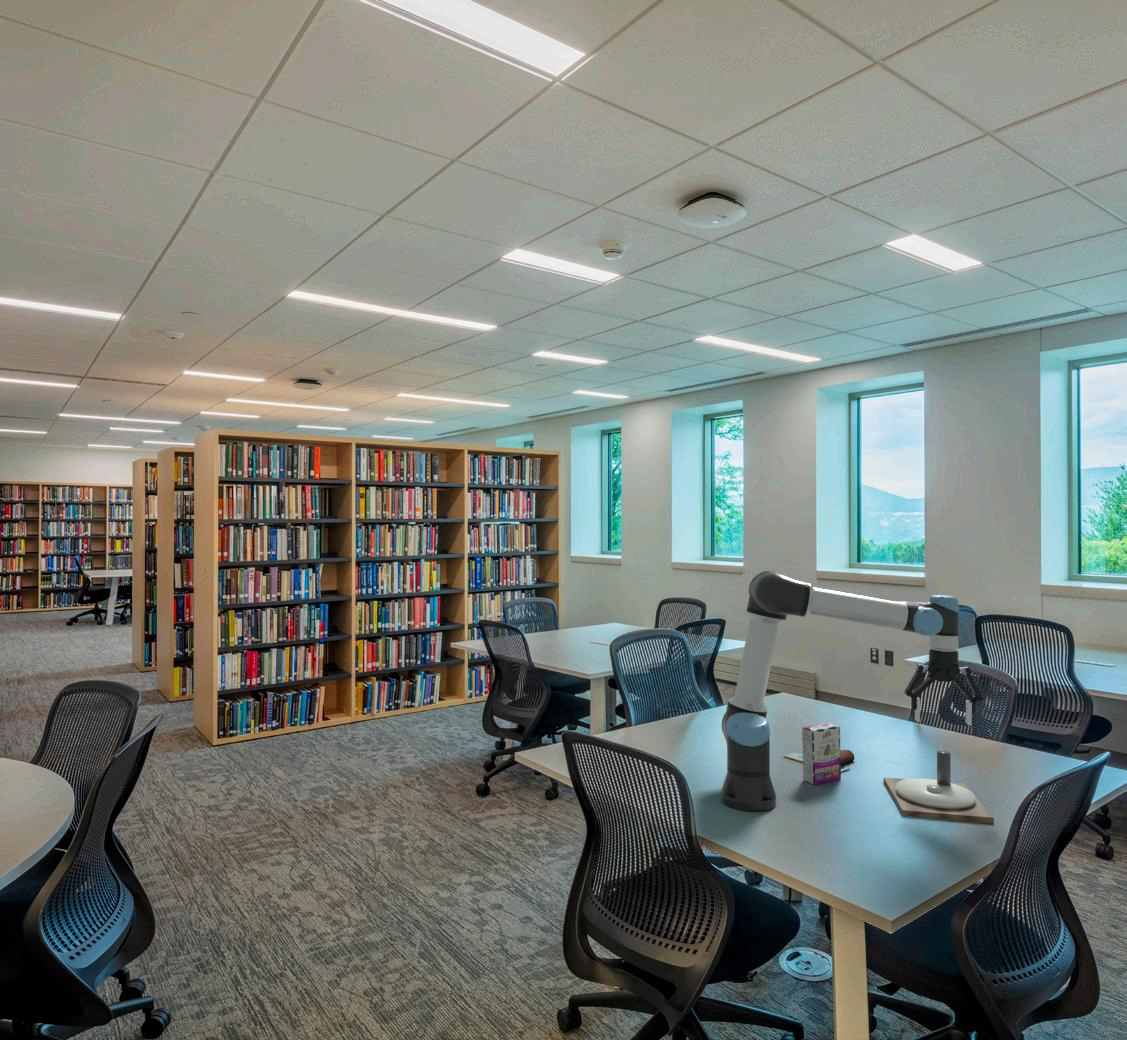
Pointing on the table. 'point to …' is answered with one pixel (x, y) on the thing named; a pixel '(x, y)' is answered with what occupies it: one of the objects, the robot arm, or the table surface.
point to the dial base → (917, 810)
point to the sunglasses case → (846, 756)
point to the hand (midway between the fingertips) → (942, 722)
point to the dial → (937, 788)
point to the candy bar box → (821, 753)
